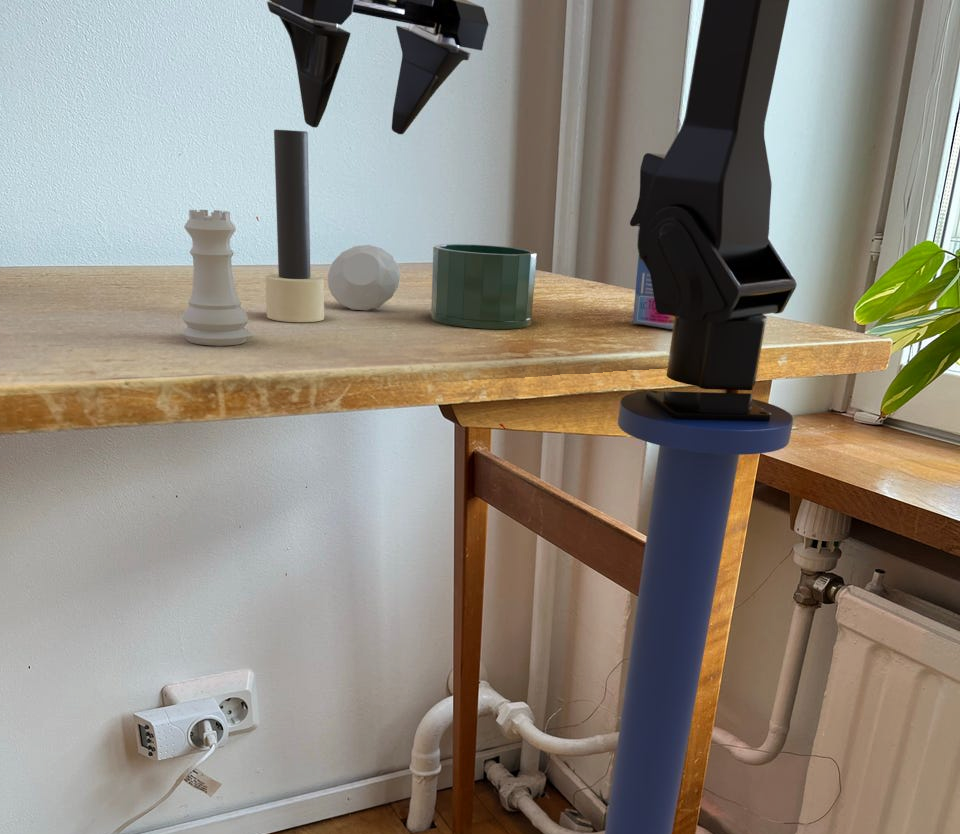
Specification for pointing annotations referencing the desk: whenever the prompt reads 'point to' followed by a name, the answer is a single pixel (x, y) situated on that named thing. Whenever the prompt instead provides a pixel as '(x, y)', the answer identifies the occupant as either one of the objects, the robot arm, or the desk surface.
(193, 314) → the rook chess piece
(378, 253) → the gemstone
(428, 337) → the desk surface
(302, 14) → the robot arm
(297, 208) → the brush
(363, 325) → the desk surface
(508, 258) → the green faceted pot
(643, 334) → the desk surface
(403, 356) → the desk surface
